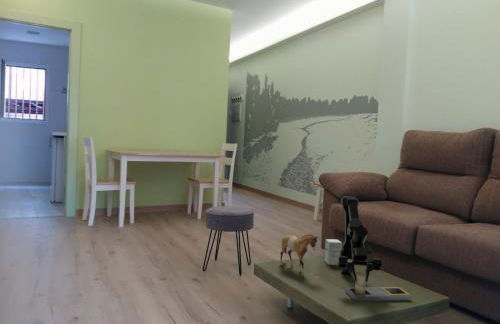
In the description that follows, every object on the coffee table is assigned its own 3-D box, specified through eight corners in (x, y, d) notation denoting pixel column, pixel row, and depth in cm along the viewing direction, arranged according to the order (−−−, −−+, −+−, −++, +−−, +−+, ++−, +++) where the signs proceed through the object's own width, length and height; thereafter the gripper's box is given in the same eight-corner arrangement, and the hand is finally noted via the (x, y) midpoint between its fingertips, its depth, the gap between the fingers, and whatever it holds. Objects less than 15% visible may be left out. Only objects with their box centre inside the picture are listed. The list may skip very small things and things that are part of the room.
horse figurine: (317, 278, 195) (319, 236, 194) (303, 279, 192) (305, 237, 191) (285, 260, 223) (287, 223, 222) (273, 261, 220) (274, 224, 219)
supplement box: (324, 261, 226) (325, 238, 225) (337, 261, 226) (338, 239, 226) (327, 265, 218) (329, 242, 218) (341, 265, 219) (342, 242, 219)
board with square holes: (355, 301, 167) (355, 296, 166) (345, 291, 177) (345, 286, 177) (411, 300, 170) (411, 295, 170) (397, 291, 181) (398, 286, 181)
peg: (354, 293, 175) (355, 271, 175) (364, 295, 174) (366, 272, 174) (354, 297, 171) (355, 274, 171) (365, 298, 170) (366, 275, 170)
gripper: (339, 238, 177) (341, 270, 166) (382, 240, 175) (387, 273, 164) (336, 251, 185) (338, 282, 174) (377, 254, 183) (382, 286, 172)
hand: (361, 281), depth 171 cm, fingers closed on peg, 4 cm apart
